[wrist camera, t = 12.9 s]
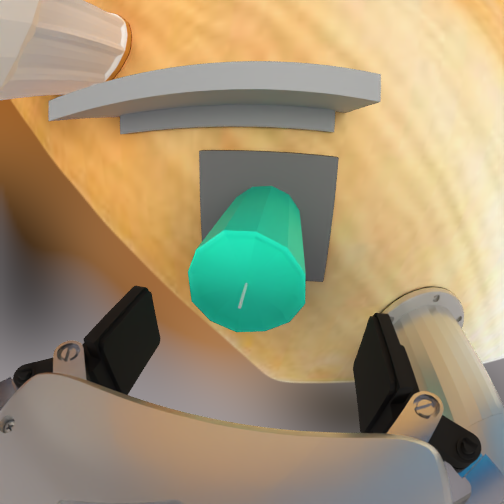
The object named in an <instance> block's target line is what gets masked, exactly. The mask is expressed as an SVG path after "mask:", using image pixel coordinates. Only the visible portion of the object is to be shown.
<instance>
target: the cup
mask: <svg viewBox="0 0 504 504" xmlns="http://www.w3.org/2000/svg"><path fill="white" fill-rule="evenodd" d="M131 38H132V36H131V30H130V26H129V23H128V22H127V21H126V20H125V19H123V18H122V17H121V16H119V15H117V14H113V13H108V12H106V11H104V10H102V9H100V8H98V7H96V6H94V5H92V4H90V3H88V2H86V1H83V0H0V100H6V99H13V98H21V97H31V96H44V95H63V94H68V93H71V92H74V91H77V90H80V89H83V88H86V87H89V86H92V85H96V84H99V83H103V82H106V81H110V80H112V79H113V78H114V77H115V76H116V74H117V73H118V72H119V71H120V69H121V68H122V66H123V64H124V62H125V60H126V58H127V56H128V54H129V51H130V46H131Z"/></svg>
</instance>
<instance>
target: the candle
mask: <svg viewBox="0 0 504 504" xmlns="http://www.w3.org/2000/svg"><path fill="white" fill-rule="evenodd" d="M188 277H189V285H190V292H191V300H192V302H193V303H194V304H195V305H196V306H197V307H198V308H199V309H200V310H201V311H202V313H203V314H204V315H205V316H206V317H207V318H208V319H209V320H210V321H212V322H214V323H217V324H219V325H221V326H224V327H226V328H228V329H230V330H233V331H235V332H256V331H267V330H269V329H272V328H275V327H278V326H280V325H283V324H286V323H288V322H290V321H291V320H292V319H293V317H294V316H295V315H296V314H297V313H298V312H299V310H300V309H301V308H302V307H303V306H304V305H305V262H304V250H303V240H302V230H301V220H300V211H299V209H298V208H297V206H296V204H295V203H294V201H293V200H292V198H291V197H290V195H289V194H287V193H285V192H283V191H281V190H279V189H277V188H275V187H273V186H259V187H251V188H250V189H248V190H247V191H245V192H244V193H242V194H241V195H239V196H238V197H236V199H235V200H234V201H233V202H232V204H231V205H230V206H229V207H228V209H227V210H226V211H225V213H224V214H223V215H222V216H221V218H220V219H219V220H218V222H217V223H216V224H215V225H214V227H213V228H212V229H211V231H210V232H209V233H208V235H207V236H206V237H205V239H204V240H203V241H202V242H201V244H200V245H199V246H198V248H197V249H196V252H195V254H194V257H193V260H192V262H191V265H190V268H189V271H188Z"/></svg>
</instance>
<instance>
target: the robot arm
mask: <svg viewBox="0 0 504 504" xmlns="http://www.w3.org/2000/svg"><path fill="white" fill-rule="evenodd" d="M463 322H464V311H463V307H462V305H461V303H460V301H459V300H458V299H457V297H456V296H455V295H454V294H453V293H451V292H450V291H449V290H446V289H443V288H436V287H431V288H423V289H420V290H416V291H413V292H411V293H409V294H407V295H404V296H403V297H401V298H400V299H398V300H396V301H395V302H393V303H392V304H391V305H390V306H389V307H387V308H386V309H385V310H384V311H383V312H382V313H375V314H374V316H370V318H369V320H368V323H367V327H366V330H365V333H364V336H363V339H362V342H361V345H360V348H359V350H358V353H357V356H356V359H355V361H354V366H353V371H354V378H355V385H356V394H357V403H358V411H359V421H360V431H361V433H328V432H309V431H293V430H283V429H274V428H265V427H258V426H251V425H243V424H238V423H232V422H227V421H221V420H216V419H211V418H207V417H202V416H198V415H193V414H189V413H185V412H181V411H178V410H174V409H170V408H166V407H163V406H160V405H156V404H153V403H149V402H146V401H143V400H140V399H137V398H134V397H131V396H128V393H129V392H130V390H131V388H132V387H133V385H134V383H135V382H136V380H137V379H138V377H139V375H140V374H141V372H142V370H143V369H144V367H145V366H146V364H147V362H148V361H149V359H150V358H151V356H152V355H153V353H154V352H155V350H156V348H157V347H158V345H159V343H160V335H159V330H158V325H157V320H156V316H155V310H154V305H153V300H152V294H151V292H149V291H148V289H147V288H146V287H140V286H134V287H133V288H132V289H131V290H130V291H129V292H128V293H127V294H126V295H125V296H124V297H123V298H122V299H121V300H120V301H119V302H118V303H117V304H116V305H115V306H114V307H113V308H112V309H111V310H110V311H109V312H108V313H107V314H106V315H105V316H104V318H103V319H102V320H101V321H100V322H99V323H98V324H97V325H96V326H95V327H94V328H93V329H92V330H91V331H90V332H89V334H88V335H87V336H86V337H85V338H84V344H83V345H82V344H81V343H79V342H77V341H67V342H64V343H62V344H60V345H59V346H58V347H57V348H56V349H55V351H54V355H53V356H54V357H53V358H50V359H46V360H42V361H38V362H33V363H29V364H25V365H23V366H21V367H20V368H18V369H17V370H16V372H15V374H14V377H13V379H11V377H9V378H8V379H6V380H3V381H1V382H0V504H504V406H503V404H502V402H501V399H500V397H499V395H498V393H497V391H496V389H495V387H494V385H493V383H492V381H491V379H490V377H489V375H488V373H487V371H486V369H485V368H484V366H483V364H482V362H481V360H480V359H479V357H478V355H477V353H476V352H475V350H474V348H473V346H472V345H471V343H470V341H469V340H468V338H467V337H466V335H465V333H464V332H463V330H462V326H463Z"/></svg>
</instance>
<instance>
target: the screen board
mask: <svg viewBox="0 0 504 504" xmlns="http://www.w3.org/2000/svg"><path fill="white" fill-rule="evenodd" d="M380 93H381V74H376V73H371V72H366V71H361V70H355V69H349V68H343V67H335V66H328V65H319V64H308V63H295V62H272V61H244V62H221V63H208V64H197V65H188V66H180V67H173V68H167V69H160V70H155V71H149V72H144V73H139V74H135V75H130V76H126V77H122V78H118V79H114V80H110V81H106V82H103V83H99V84H96V85H92V86H89V87H86V88H83V89H80V90H77V91H74V92H71V93H68V94H65V95H63V96H60V97H57V98H55V99H52V100H50V101H49V121H56V120H67V119H80V118H100V117H120V134H127V133H135V132H144V131H153V130H164V129H177V128H194V127H276V128H293V129H306V130H317V131H327V132H334V126H335V112H343V113H346V112H349V111H353V110H356V109H359V108H362V107H365V106H368V105H372V104H375V103H378V102H380Z"/></svg>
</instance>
